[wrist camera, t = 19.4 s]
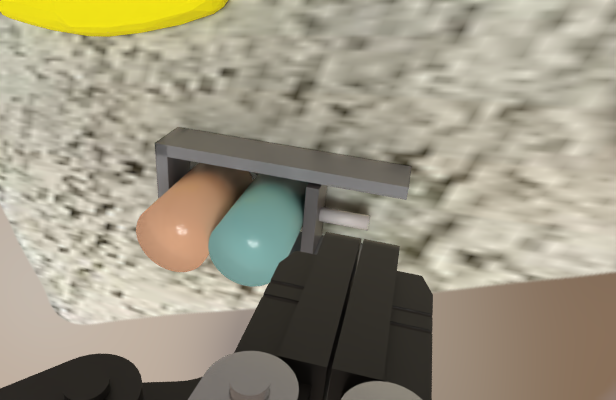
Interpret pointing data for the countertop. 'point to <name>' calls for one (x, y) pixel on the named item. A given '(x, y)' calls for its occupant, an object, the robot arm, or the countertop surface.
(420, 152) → the countertop surface
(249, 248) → the teal rounded cylinder
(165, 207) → the orange rounded cylinder
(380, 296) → the robot arm
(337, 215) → the pusher
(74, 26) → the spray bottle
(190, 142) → the lane
